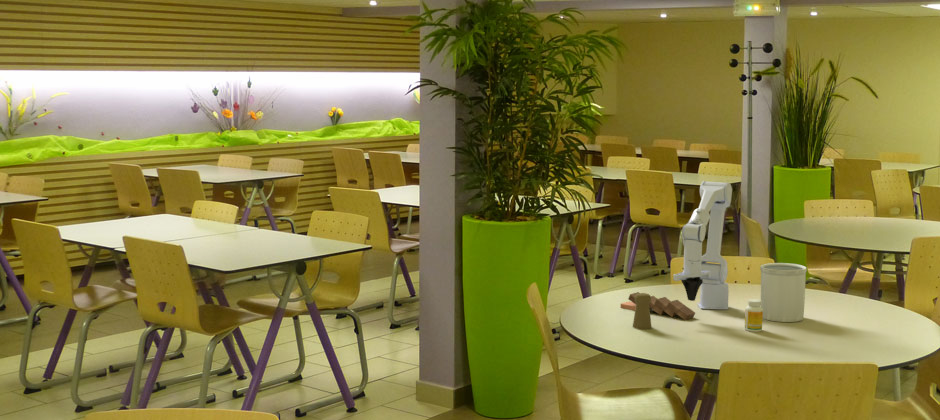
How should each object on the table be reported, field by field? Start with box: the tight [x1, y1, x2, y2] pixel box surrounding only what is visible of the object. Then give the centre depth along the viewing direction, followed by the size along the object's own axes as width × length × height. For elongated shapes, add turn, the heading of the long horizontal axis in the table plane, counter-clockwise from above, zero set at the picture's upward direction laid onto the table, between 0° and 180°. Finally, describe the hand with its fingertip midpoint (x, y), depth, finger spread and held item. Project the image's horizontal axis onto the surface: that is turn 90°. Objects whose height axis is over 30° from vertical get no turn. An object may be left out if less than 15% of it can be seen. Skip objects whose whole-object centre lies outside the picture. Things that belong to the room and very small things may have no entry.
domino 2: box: [627, 291, 653, 311], centre depth 343 cm, size 2×5×8 cm
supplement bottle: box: [744, 298, 763, 333], centre depth 314 cm, size 5×5×10 cm
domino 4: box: [655, 296, 679, 318], centre depth 335 cm, size 2×5×8 cm
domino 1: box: [620, 301, 636, 311], centre depth 345 cm, size 2×5×8 cm
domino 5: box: [667, 299, 696, 321], centre depth 332 cm, size 2×5×8 cm
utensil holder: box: [759, 262, 808, 323], centre depth 331 cm, size 15×15×18 cm
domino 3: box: [649, 295, 666, 316], centre depth 339 cm, size 2×5×8 cm
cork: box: [632, 292, 652, 330], centre depth 318 cm, size 6×6×11 cm
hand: (691, 300), depth 329 cm, fingers closed
